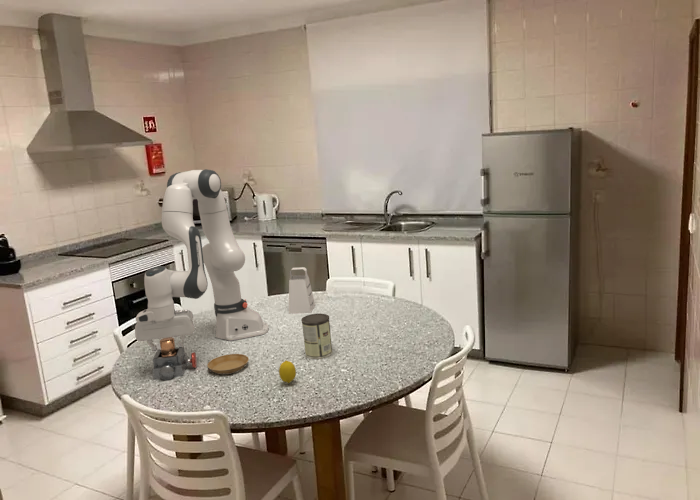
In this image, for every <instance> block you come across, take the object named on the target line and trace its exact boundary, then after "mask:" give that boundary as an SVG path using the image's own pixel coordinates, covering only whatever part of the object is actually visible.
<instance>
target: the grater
mask: <svg viewBox="0 0 700 500" xmlns="http://www.w3.org/2000/svg"><path fill="white" fill-rule="evenodd" d="M293 270H295V271H297V270H303V271H304V274H301V275H299V274H298V275H297V274H296V275H293V274H292V271H293ZM288 272H289V281H288V315H291V314H292V315H293V314H294V315H296V314H312V312H313V310H314V309H315V308H316V302H315V298H314V295H313V291H312V285H311V280H310V277H309V275H308V269H307V268H306V267H305V266H304V267H303V266H301V267H292V268H291V269H290V270H289V271H288Z"/></svg>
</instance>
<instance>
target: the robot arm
mask: <svg viewBox="0 0 700 500" xmlns="http://www.w3.org/2000/svg"><path fill="white" fill-rule="evenodd" d="M224 196H225V195H224V193H223V191H222V180H221V178H220V176H219V174H218V173H217V172H216V171H215V170H213V169H191V170H188V171H187V170H186V171H181V172H176V173H173V174H171V175H170V176H169V178H168V180H167V183H166V189H165V192H164V195H163V200H162V209H161V226H162V229H163V231H164V232H165V233H166V234H167V235H168V236H170V237H171V238H173V239H176V240H178V241H180V242H182V243H183V244H184V246H185V248H186V253H187V263H188V270H171V269H167V267H166V266H164V265H163V266H161V265H160V266H154V267H151V268H148V270H146V271H145V273H144V278H143V279H144V280H143V281H144V291H145V297H146V298H147V309H144V310H142V311H140V312H138V314H137V315H136V317H135V321H136V324H135V327H134V334H135V335H134V336H135V340H137V341H138V342H143V341H146V343H147V344H148V345H149V347H151V348H150V349H151V352H157V350H158V348H157V344H154V343H153V340H161V339H163V338H170V337H172V338H177V337H180V339H181V341H178V343H177V345H178V347H179V348H182V347H185V346H184V341H185V339H186V336H192V335H193V334H194V332H195V326H194V325H195V324H194V322H193V319H194V314H193V312H192V311H191V310H188V309H182V310H181V309H179V310H175V309H176V308H175V302H174V300H173V298H188V299H195V300H196V299H200V298H201V297H202V296H203V295H204V294H205V293H206V292H207V290H208V279H207V274H208V277H209V279H210V282H211V286H212V292H213V293H212V294H213V299H214V304H213V310H214V315H215V317H216V322H215V323H216V326H215V334H214V336H215V338H217V339H220V340H221V339H222V340H225V341H235V340H236V341H237V340H242V339H246V338H247V339H248V338H251V337H256V336H257V337H258V336H262V335H265V334H267V333H268V332H269V330H270V329H269V328H270V327H269V324H268V323H267V322H265V321H263V319H262V316H261V314H260V313H259V312H257V311H255V310H253V309H252V308H250V307H248V302H247V299H243V298H242V293H241V287H240V286H241V285H240V281H239V279H238V278H237V276H236V274H235V272H237V271H239V270H241V269H242V268H243V267H244V265H245V263H246V256H245V253H244V251H243V250H242V249H241V248H240V246H239V244H238V241H237V239H236V237H235V235H234V232H233V229H232V227H231V222H230V219H229V218H230V217H229V212H228V207H227V202H226V199H225V197H224ZM194 200H197V207H198V208H197V209H198V213H199V217H200V222H201V228H202V231H203V234H204V235H205V237H206V238H207V240H208V242H209V243H206V244H205V245H204V246H203V244H202V243H203V242H202V236H201V233H200V230H199V229H198V228H197V227H196V225H195V223H194V219H193V217H194V216H193V215H194V205H193V204H194V203H193V202H194ZM205 268H206V270H205ZM206 272H207V273H206Z"/></svg>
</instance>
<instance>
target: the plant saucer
mask: <svg viewBox="0 0 700 500" xmlns="http://www.w3.org/2000/svg"><path fill="white" fill-rule="evenodd" d="M249 360H250V359H249V356H247V355H245V354H243V353H241V354H240V353H229V354H224V355H223V354H222V355H220V356H216V357H215V358H213V359H211V360H209V362H207V365H206V366H207V368H208V369H209V370H210V371H212V372H214V373H215V374H218V375H230V374H233V373H237V372H239V371H241V370H243V368H244V367H245V366H246V365H248V364H247V363H248V362H249Z"/></svg>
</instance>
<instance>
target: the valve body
mask: <svg viewBox="0 0 700 500" xmlns="http://www.w3.org/2000/svg"><path fill="white" fill-rule="evenodd" d="M175 349H176V355H174V356H166V357H162V354H161V348H160V349H157V350H156V351H155V352H156V353H155V354H154V357H152V364H153V367H152V374H153V380H163V381H169V380H172V379H173V378H176V377H177V378H178V377H184V375H185V371H186V368H187V366H188V364H189V365H190V364H191V367H192V368H193V369H196V368H197V366H198V361H197V354H196V352H191V354H190V358H188V355H187V352H185V346H183V347H182V348H179V346H177V347H176V346H175Z"/></svg>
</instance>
